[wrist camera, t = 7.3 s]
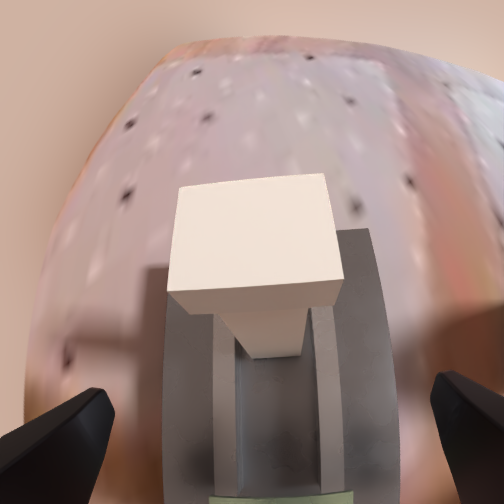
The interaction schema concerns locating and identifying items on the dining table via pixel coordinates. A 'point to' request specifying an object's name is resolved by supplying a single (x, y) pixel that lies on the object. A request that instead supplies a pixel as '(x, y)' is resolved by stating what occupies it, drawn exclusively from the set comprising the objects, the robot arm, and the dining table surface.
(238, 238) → the handle
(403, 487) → the dining table surface
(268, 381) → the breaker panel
